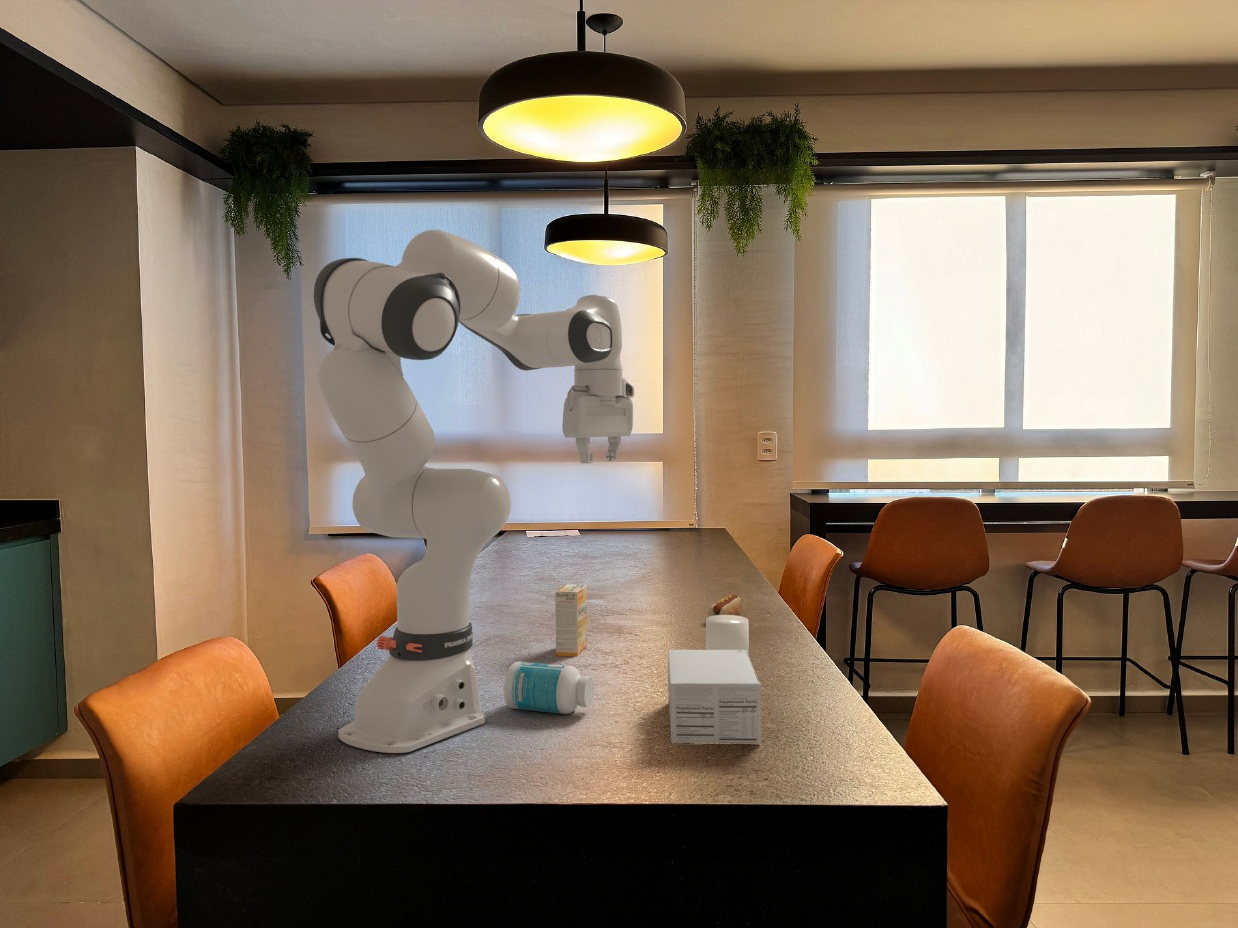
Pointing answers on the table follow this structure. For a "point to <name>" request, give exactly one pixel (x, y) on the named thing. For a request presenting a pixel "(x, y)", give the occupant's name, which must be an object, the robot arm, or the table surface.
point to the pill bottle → (547, 688)
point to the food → (726, 606)
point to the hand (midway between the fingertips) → (599, 462)
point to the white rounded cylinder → (727, 633)
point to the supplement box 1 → (571, 619)
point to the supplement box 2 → (713, 697)
